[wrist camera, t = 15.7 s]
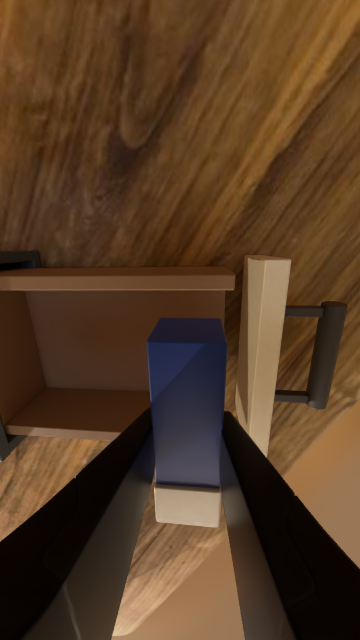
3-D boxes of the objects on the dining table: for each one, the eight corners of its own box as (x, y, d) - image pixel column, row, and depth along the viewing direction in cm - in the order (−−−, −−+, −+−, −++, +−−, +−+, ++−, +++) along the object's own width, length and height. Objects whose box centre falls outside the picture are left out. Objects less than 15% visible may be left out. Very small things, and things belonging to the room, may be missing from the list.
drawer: (325, 253, 16) (391, 257, 10) (300, 405, 19) (338, 468, 14) (19, 258, 18) (-64, 264, 12) (49, 393, 22) (-4, 443, 16)
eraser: (158, 316, 8) (143, 341, 6) (222, 317, 8) (230, 343, 6) (165, 465, 10) (155, 523, 8) (215, 468, 10) (219, 528, 8)
